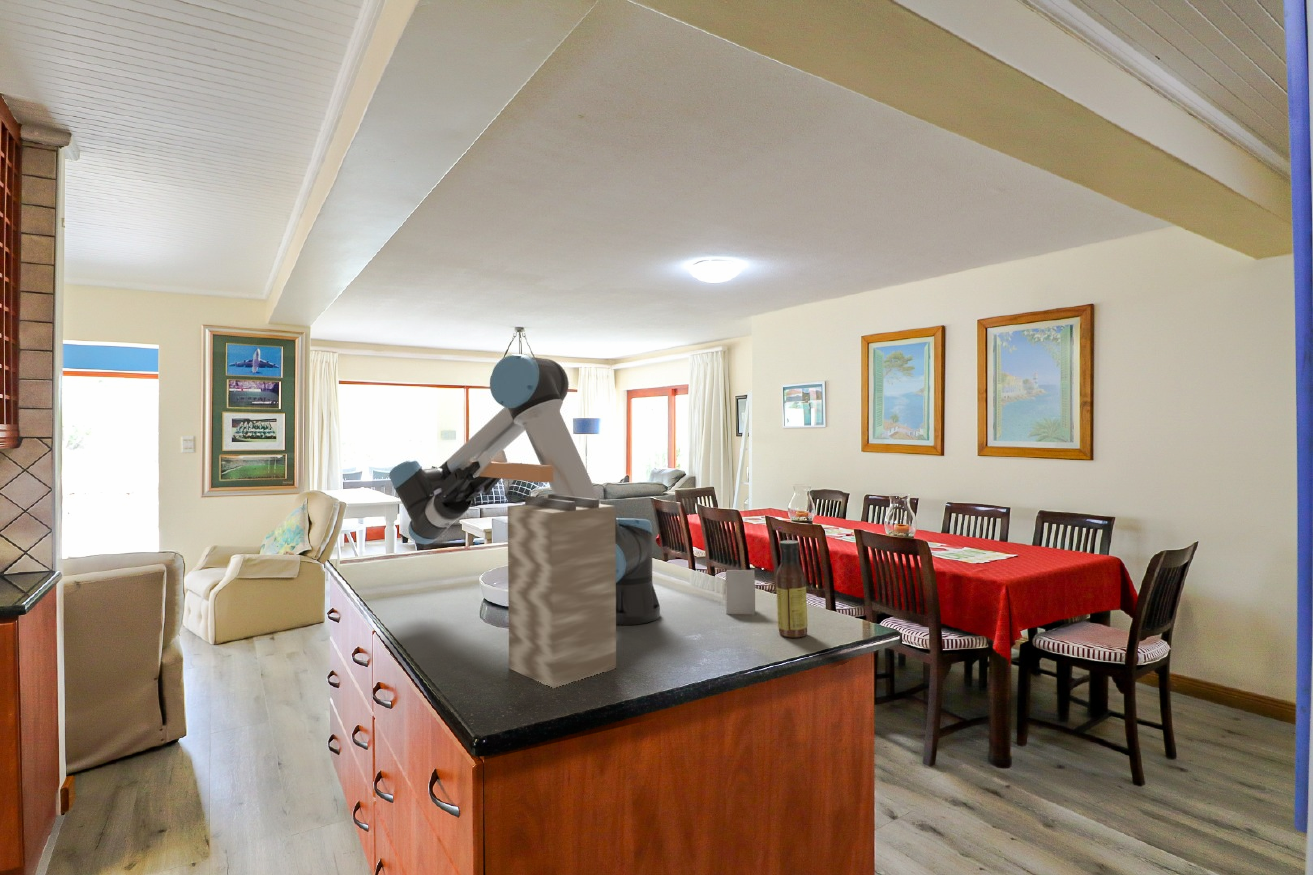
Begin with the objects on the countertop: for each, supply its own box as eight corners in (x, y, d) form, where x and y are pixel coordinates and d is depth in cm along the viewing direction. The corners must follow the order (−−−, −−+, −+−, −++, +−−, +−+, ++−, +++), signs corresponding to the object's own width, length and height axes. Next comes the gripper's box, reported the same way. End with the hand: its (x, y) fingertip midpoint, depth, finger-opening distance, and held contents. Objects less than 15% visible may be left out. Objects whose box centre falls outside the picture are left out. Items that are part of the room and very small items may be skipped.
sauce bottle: (810, 632, 149) (810, 540, 149) (803, 640, 144) (803, 544, 143) (780, 628, 152) (780, 538, 152) (772, 636, 147) (772, 542, 146)
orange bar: (469, 475, 148) (469, 461, 148) (482, 474, 150) (481, 460, 150) (540, 482, 130) (540, 466, 130) (553, 481, 132) (553, 465, 132)
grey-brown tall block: (509, 668, 128) (507, 498, 128) (570, 650, 138) (568, 492, 137) (553, 688, 118) (552, 504, 118) (616, 668, 128) (615, 497, 127)
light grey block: (755, 614, 164) (755, 571, 164) (726, 613, 164) (726, 571, 164) (753, 609, 168) (753, 568, 168) (725, 609, 168) (725, 568, 168)
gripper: (484, 516, 162) (534, 470, 148) (419, 523, 151) (465, 474, 136) (476, 487, 165) (524, 439, 150) (411, 492, 154) (456, 441, 139)
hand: (496, 456), depth 143 cm, fingers closed on orange bar, 3 cm apart
